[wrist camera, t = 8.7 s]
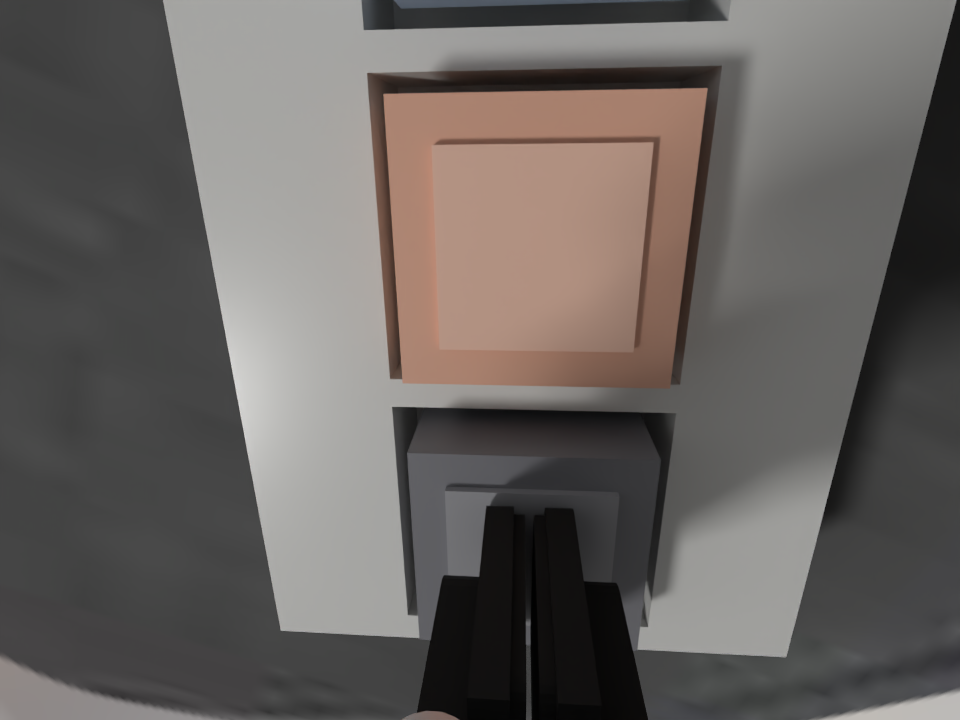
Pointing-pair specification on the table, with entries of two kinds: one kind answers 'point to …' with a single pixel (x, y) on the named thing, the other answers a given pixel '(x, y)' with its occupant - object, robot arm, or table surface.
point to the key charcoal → (532, 493)
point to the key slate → (498, 2)
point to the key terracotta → (541, 233)
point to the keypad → (666, 412)
